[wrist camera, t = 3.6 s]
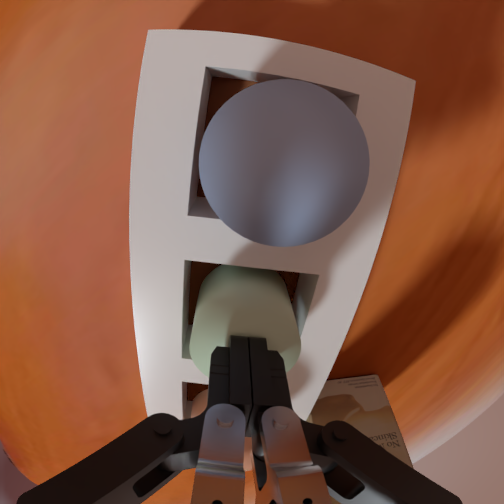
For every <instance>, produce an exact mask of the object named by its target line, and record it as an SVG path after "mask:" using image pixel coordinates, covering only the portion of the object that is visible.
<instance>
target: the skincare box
mask: <svg viewBox="0 0 504 504" xmlns="http://www.w3.org/2000/svg"><path fill="white" fill-rule="evenodd" d="M335 420H340V421H344V422H347V423H349V424H350V425H352V426H353V427H354V428H356V429H357V430H359V431H360V432H361V433H363V434H364V435H365V436H367V437H368V438H369V439H371V440H372V441H374V442H375V443H376V444H378V445H379V446H381V447H382V448H384V449H385V450H386V451H388V452H389V453H391V454H392V455H394V456H395V457H396V458H398V459H399V460H401V461H402V462H404V463H405V464H407V465H408V466H410V467H411V468H413V465H412V462H411V459H410V457H409V454H408V451H407V448H406V445H405V443H404V440H403V437H402V435H401V432H400V429H399V427H398V424H397V421H396V419H395V416H394V414H393V411H392V408H391V406H390V403H389V401H388V398H387V396H386V393H385V391H384V388H383V386H382V384H381V381H380V379H379V376H378V375H369V376H361V377H353V378H344V379H336V380H327V381H326V382H325V384H324V386H323V388H322V390H321V392H320V394H319V396H318V398H317V400H316V402H315V404H314V406H313V408H312V410H311V412H310V414H309V416H308V418H307V420H306V422H309V423H313V424H317V425H322V426H325V425H326V424H327V423H329V422H331V421H335ZM330 498H331V502H332V504H341V503H339V502H338V501H337V500H335V499H334V498H333V497H332V496H330Z"/></svg>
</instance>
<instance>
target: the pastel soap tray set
mask: <svg viewBox="0 0 504 504" xmlns="http://www.w3.org/2000/svg"><path fill="white" fill-rule="evenodd" d="M212 76H213V77H223V78H232V79H241V80H248V81H255V82H265V81H269V80H277V79H293V80H300V81H305V82H308V83H312V84H315V85H317V86H319V87H322V88H324V89H326V90H327V91H329V92H331V93H332V94H334V95H335V96H337V97H338V98H339V99H340V100H341V101H343V102H344V103H345V104H346V105H347V106H348V108H349V109H350V110H351V111H352V112H353V114H354V115H355V117H356V118H357V119H358V121H359V123H360V125H361V127H362V129H363V131H364V134H365V137H366V140H367V144H368V149H369V158H370V165H369V176H368V181H367V185H366V188H365V191H364V194H363V196H362V198H361V200H360V202H359V204H358V205H357V207H356V209H355V210H354V211H353V213H352V214H351V215H350V217H349V218H348V219H347V220H346V221H345V222H344V223H343V224H342V225H341V226H339V227H338V228H337V229H336V230H334V231H333V232H331V233H330V234H328V235H326V236H325V237H323V238H321V239H318V240H316V241H314V242H310V243H307V244H304V245H298V246H290V247H277V246H269V245H263V244H260V243H257V242H254V241H251V240H249V239H247V238H244V237H242V236H241V235H239V234H238V233H236V232H234V231H233V230H232V229H230V228H229V227H228V226H227V225H226V224H225V223H224V222H223V221H222V220H221V219H220V218H219V217H218V216H217V215H216V213H215V212H214V211H213V209H212V208H211V206H210V204H209V202H208V200H207V199H206V197H197V189H198V179H199V152H200V147H201V142H202V139H203V136H204V129H205V121H206V114H207V107H208V100H209V93H210V87H211V80H212ZM415 84H416V81H415V80H413V79H410V78H408V77H406V76H403V75H401V74H398V73H396V72H393V71H390V70H388V69H385V68H382V67H380V66H377V65H374V64H371V63H368V62H365V61H362V60H359V59H356V58H352V57H349V56H346V55H342V54H339V53H335V52H332V51H328V50H324V49H320V48H316V47H312V46H308V45H303V44H299V43H294V42H289V41H284V40H278V39H273V38H267V37H260V36H253V35H246V34H237V33H228V32H217V31H202V30H148V34H147V39H146V44H145V50H144V55H143V61H142V67H141V73H140V80H139V87H138V94H137V102H136V111H135V120H134V131H133V142H132V156H131V174H130V206H129V239H130V271H131V289H132V303H133V315H134V326H135V336H136V344H137V353H138V360H139V368H140V374H141V381H142V387H143V393H144V399H145V405H146V410H147V415H148V417H149V416H151V415H153V414H156V413H167V414H170V415H173V416H175V417H176V418H178V419H179V420H182V419H189V418H191V410H192V402H193V401H189V400H187V382H191V383H199V384H209V377H207V376H206V375H204V374H203V373H202V372H201V371H200V370H199V369H198V368H197V367H196V365H195V364H194V362H193V360H192V358H191V355H190V348H189V346H190V339H191V333H192V327H193V325H189V324H188V316H189V294H190V276H191V261H200V262H208V263H217V264H225V265H234V266H243V267H252V268H261V269H271V270H280V271H289V272H299V273H300V274H299V278H298V282H297V286H296V290H295V294H294V298H293V302H292V309H293V312H294V316H295V320H296V324H297V327H298V331H299V335H300V339H301V352H300V356H299V358H298V360H297V362H296V363H295V365H294V366H293V367H292V369H291V370H289V371H288V372H287V373H286V375H287V381H288V386H289V392H290V397H291V403H292V408H293V410H294V412H295V413H296V414H297V415H298V417H300V418H301V419H302V420H304V421H306V420H307V418H308V416H309V414H310V412H311V410H312V408H313V406H314V404H315V402H316V400H317V398H318V396H319V394H320V392H321V390H322V388H323V386H324V384H325V382H326V380H327V378H328V375H329V373H330V371H331V369H332V367H333V364H334V362H335V360H336V358H337V355H338V353H339V351H340V349H341V346H342V344H343V342H344V339H345V337H346V334H347V332H348V330H349V327H350V325H351V322H352V320H353V317H354V315H355V312H356V309H357V307H358V304H359V301H360V299H361V296H362V293H363V291H364V288H365V285H366V282H367V279H368V277H369V274H370V271H371V268H372V265H373V262H374V259H375V256H376V253H377V250H378V247H379V243H380V240H381V237H382V234H383V230H384V227H385V223H386V220H387V217H388V213H389V209H390V206H391V202H392V198H393V194H394V191H395V187H396V183H397V179H398V174H399V170H400V166H401V161H402V157H403V152H404V148H405V143H406V138H407V133H408V127H409V122H410V116H411V110H412V104H413V98H414V91H415Z"/></svg>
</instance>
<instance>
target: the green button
mask: <svg viewBox="0 0 504 504" xmlns="http://www.w3.org/2000/svg"><path fill="white" fill-rule="evenodd" d="M230 335H235V336H246V337H260V338H266V341H267V348H268V350H275V351H278V352H279V354H280V355H281V357H282V358H283V359H284V364H285V371H286V373H287V372H288V371H289V370H291V369H292V367H293V366H294V365H295V363H296V362H297V360H298V358H299V356H300V352H301V339H300V335H299V331H298V327H297V324H296V320H295V316H294V312H293V309H292V305H291V301H290V297H289V294H288V290H287V287H286V284H285V282H284V280H283V279H282V277H281V276H280V275H279V274H278V273H277V272H276V271H275V270H271V269H261V268H252V267H243V266H234V265H225V264H223V265H220V266H219V267H217V268H215V269H214V270H213V271H211V272H210V273H209V274H208V275H207V276H206V278H205V279H204V280H203V282H202V284H201V287H200V290H199V295H198V300H197V305H196V311H195V316H194V322H193V327H192V333H191V339H190V346H189V348H190V355H191V358H192V360H193V362H194V364H195V365H196V367H197V368H198V369H199V370H200V371H201V372H202V373H203V374H204V375H206V376H207V377H209V371H210V360H211V354H212V352H213V351H214V349H215V348H216V346H221V347H228V345H229V338H230Z"/></svg>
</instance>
